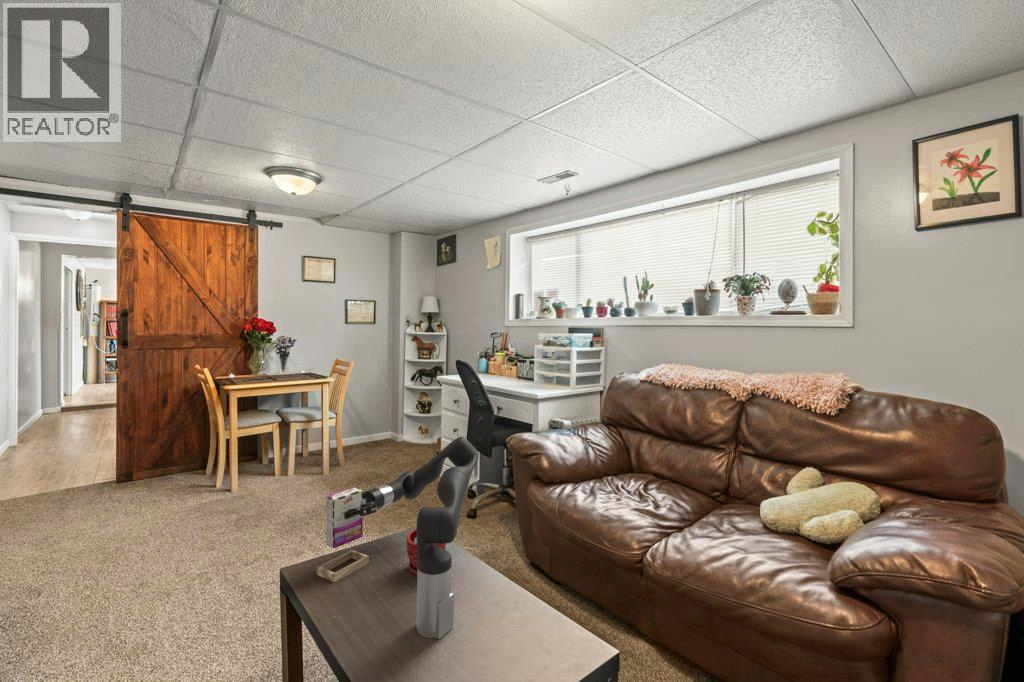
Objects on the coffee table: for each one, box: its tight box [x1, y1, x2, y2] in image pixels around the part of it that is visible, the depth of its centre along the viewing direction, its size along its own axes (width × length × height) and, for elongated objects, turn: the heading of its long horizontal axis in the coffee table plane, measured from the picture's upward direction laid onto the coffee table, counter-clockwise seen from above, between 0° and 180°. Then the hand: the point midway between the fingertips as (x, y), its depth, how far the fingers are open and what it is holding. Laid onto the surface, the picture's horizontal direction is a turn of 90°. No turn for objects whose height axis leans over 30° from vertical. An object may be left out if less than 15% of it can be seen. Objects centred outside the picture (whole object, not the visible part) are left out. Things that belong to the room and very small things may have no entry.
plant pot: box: [406, 528, 447, 575], centre depth 160 cm, size 13×13×12 cm
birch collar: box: [316, 549, 370, 583], centre depth 159 cm, size 8×14×2 cm, turn 149°
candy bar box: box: [325, 487, 363, 549], centre depth 159 cm, size 11×5×16 cm, turn 142°
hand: (339, 513), depth 157 cm, fingers closed on candy bar box, 5 cm apart
